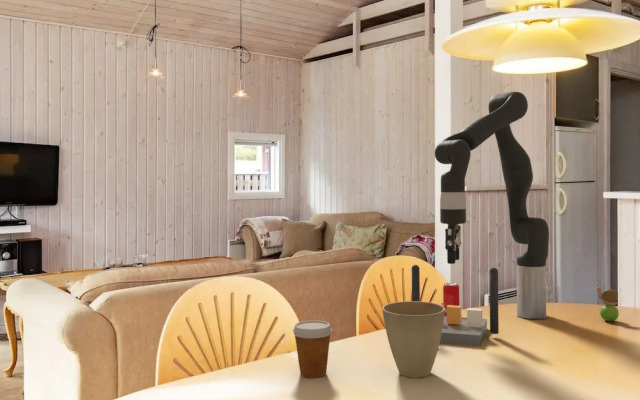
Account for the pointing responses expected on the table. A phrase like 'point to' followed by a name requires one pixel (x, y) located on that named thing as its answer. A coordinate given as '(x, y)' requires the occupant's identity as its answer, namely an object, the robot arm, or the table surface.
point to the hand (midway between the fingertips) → (453, 261)
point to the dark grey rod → (415, 283)
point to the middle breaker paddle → (454, 314)
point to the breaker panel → (465, 329)
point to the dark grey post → (494, 301)
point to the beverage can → (450, 295)
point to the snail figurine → (608, 304)
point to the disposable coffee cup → (312, 347)
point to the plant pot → (414, 335)
